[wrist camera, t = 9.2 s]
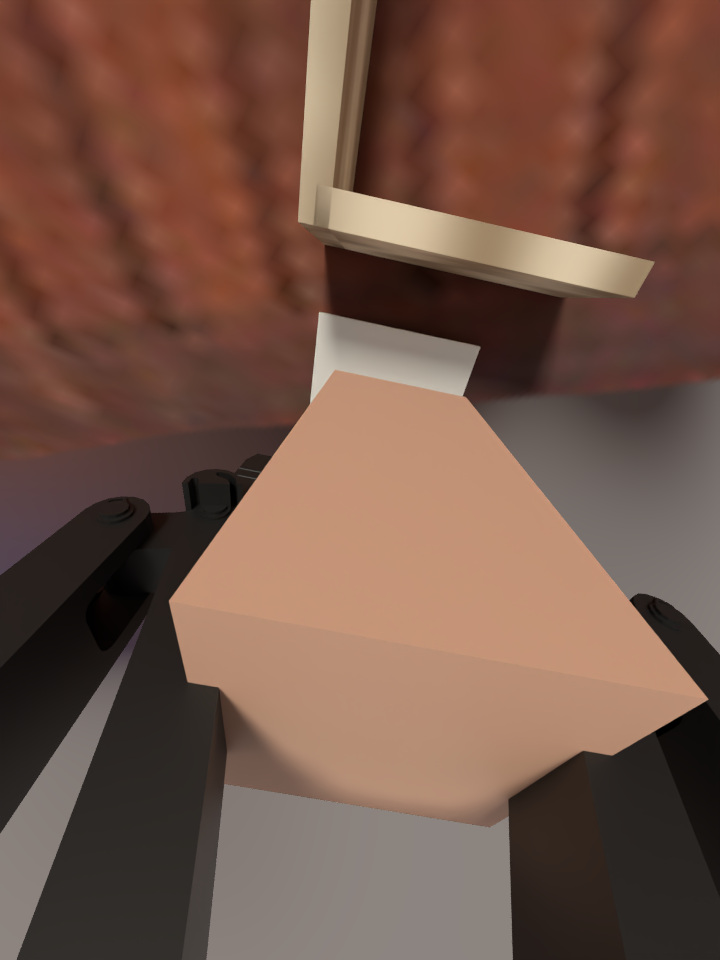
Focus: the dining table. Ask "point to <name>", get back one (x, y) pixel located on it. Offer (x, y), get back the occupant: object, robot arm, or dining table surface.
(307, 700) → the terracotta block
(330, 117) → the frame
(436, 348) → the white tile
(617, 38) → the dining table surface
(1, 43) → the dining table surface
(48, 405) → the dining table surface
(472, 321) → the dining table surface
